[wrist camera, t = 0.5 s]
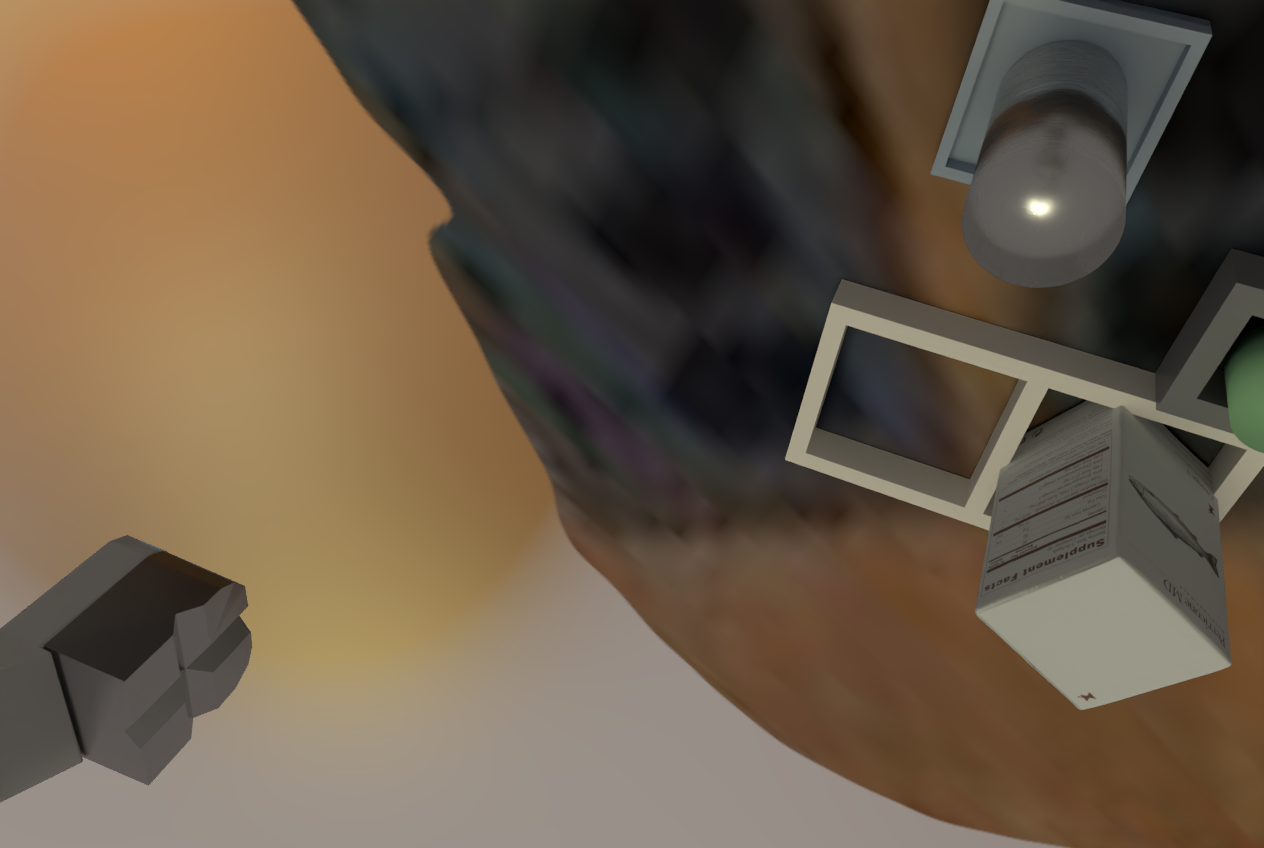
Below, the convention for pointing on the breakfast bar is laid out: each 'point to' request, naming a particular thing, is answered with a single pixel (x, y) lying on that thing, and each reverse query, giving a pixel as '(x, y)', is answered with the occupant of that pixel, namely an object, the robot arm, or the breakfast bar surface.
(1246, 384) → the button
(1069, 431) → the supplement box
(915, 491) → the white open frame
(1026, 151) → the cylinder
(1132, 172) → the tray
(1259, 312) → the button housing
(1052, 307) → the breakfast bar surface
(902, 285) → the breakfast bar surface
